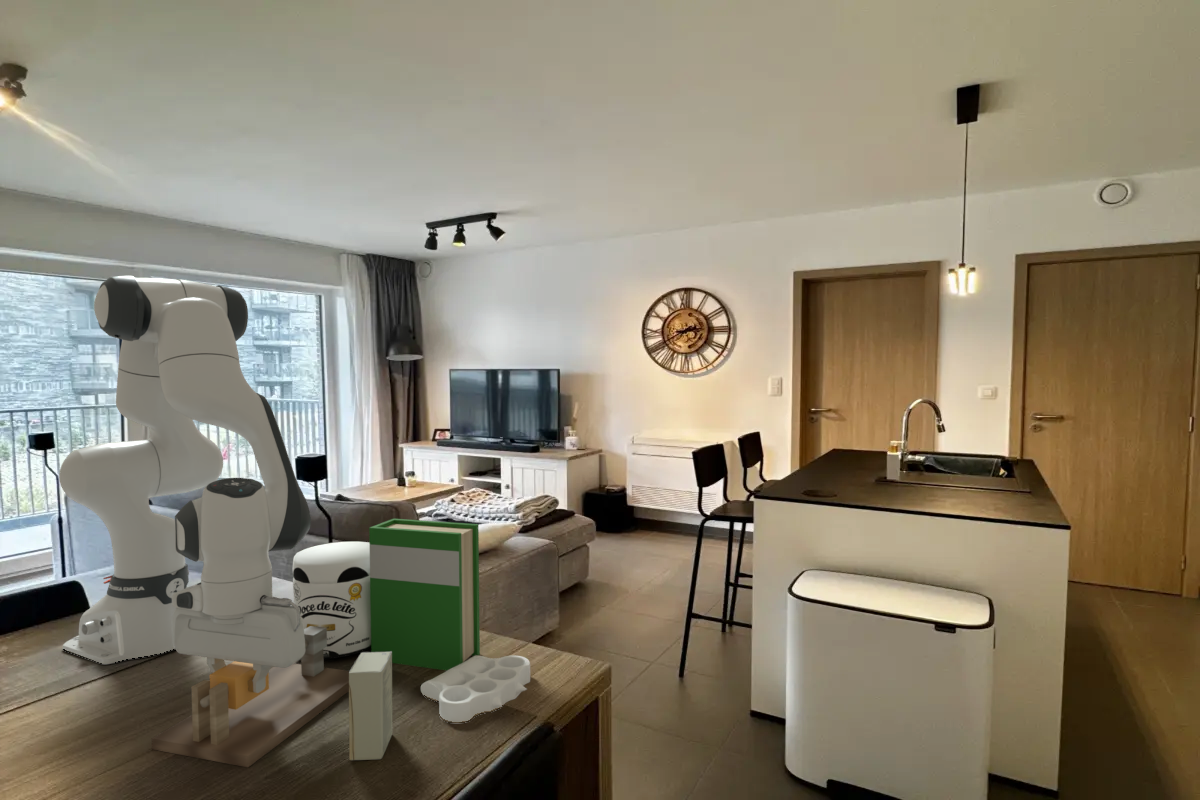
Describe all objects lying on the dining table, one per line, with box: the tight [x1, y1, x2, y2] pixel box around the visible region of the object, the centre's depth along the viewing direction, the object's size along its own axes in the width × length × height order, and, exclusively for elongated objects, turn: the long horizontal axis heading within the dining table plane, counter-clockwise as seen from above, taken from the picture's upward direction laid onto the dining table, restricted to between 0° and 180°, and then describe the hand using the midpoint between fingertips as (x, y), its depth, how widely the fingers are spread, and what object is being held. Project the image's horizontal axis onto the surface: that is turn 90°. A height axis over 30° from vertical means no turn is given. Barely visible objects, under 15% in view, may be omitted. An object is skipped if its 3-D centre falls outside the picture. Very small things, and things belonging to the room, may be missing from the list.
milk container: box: [292, 541, 371, 660], centre depth 119 cm, size 17×17×18 cm
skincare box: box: [348, 651, 393, 761], centre depth 87 cm, size 6×4×12 cm
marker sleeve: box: [209, 661, 269, 710], centre depth 91 cm, size 4×6×4 cm
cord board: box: [151, 626, 350, 768], centre depth 96 cm, size 16×24×9 cm, turn 165°
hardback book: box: [368, 518, 481, 671], centre depth 115 cm, size 18×7×24 cm, turn 74°
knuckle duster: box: [420, 655, 531, 722], centre depth 102 cm, size 3×18×15 cm
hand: (240, 688), depth 91 cm, fingers closed on marker sleeve, 4 cm apart
